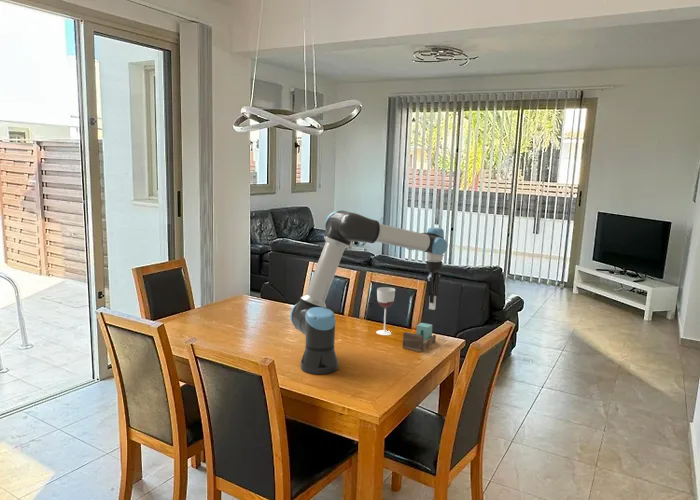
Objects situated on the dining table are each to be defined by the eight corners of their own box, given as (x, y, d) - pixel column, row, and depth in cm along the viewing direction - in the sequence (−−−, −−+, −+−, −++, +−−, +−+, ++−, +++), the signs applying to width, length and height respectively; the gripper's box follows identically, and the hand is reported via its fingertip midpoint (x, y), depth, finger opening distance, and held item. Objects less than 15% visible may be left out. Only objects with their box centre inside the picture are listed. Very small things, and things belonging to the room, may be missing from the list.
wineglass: (372, 333, 251) (373, 289, 248) (380, 328, 259) (382, 286, 256) (388, 336, 247) (390, 292, 244) (396, 331, 255) (398, 288, 252)
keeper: (427, 341, 236) (428, 327, 235) (416, 339, 239) (417, 325, 238) (431, 339, 241) (432, 324, 239) (420, 336, 243) (421, 322, 242)
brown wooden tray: (420, 352, 226) (421, 336, 225) (402, 348, 231) (403, 333, 230) (435, 342, 241) (436, 327, 240) (418, 338, 245) (418, 324, 244)
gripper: (436, 263, 233) (434, 313, 237) (447, 259, 244) (444, 307, 248) (421, 261, 237) (419, 310, 241) (432, 257, 248) (430, 304, 252)
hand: (432, 309), depth 244 cm, fingers closed
